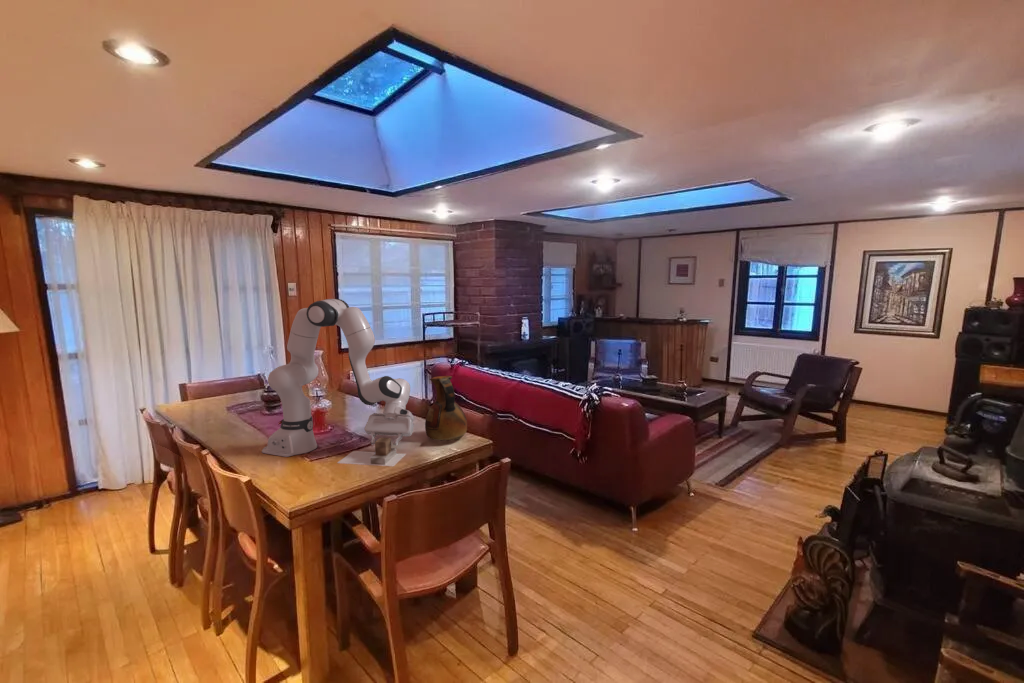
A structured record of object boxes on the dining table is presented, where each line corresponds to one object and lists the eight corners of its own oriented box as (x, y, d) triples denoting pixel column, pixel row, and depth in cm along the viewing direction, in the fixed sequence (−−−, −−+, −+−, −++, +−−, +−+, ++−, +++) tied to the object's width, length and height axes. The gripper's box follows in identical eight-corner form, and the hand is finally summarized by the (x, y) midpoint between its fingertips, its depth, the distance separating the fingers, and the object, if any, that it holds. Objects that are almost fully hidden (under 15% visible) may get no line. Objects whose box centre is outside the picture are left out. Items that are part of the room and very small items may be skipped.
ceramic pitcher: (456, 428, 222) (454, 370, 219) (475, 440, 206) (473, 377, 202) (419, 436, 212) (416, 375, 208) (436, 449, 195) (434, 382, 191)
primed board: (337, 466, 177) (336, 462, 177) (353, 454, 190) (353, 450, 190) (393, 469, 174) (393, 466, 173) (406, 457, 186) (406, 453, 186)
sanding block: (370, 463, 176) (369, 444, 175) (382, 453, 187) (382, 435, 186) (384, 464, 175) (383, 445, 174) (396, 454, 186) (395, 435, 185)
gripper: (367, 409, 189) (357, 439, 180) (413, 411, 185) (405, 442, 177) (373, 416, 194) (363, 446, 185) (417, 418, 190) (409, 448, 182)
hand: (384, 444), depth 181 cm, fingers open, 8 cm apart
